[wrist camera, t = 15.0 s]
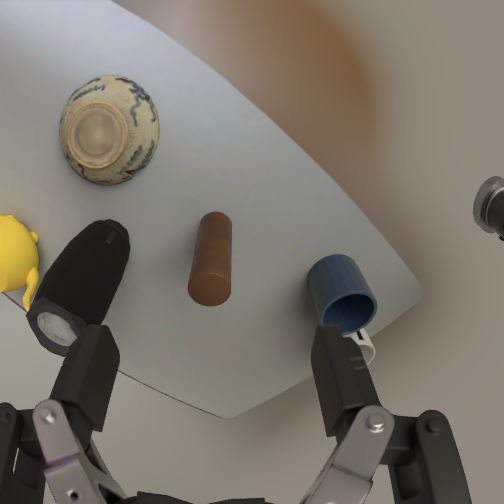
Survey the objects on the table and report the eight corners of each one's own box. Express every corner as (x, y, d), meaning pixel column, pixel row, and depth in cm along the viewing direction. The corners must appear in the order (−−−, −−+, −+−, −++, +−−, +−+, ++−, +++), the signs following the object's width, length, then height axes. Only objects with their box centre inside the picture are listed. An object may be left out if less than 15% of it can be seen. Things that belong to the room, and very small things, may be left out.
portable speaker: (106, 272, 45) (61, 367, 29) (73, 227, 40) (8, 313, 24) (146, 253, 44) (106, 356, 27) (112, 203, 39) (45, 291, 22)
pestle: (223, 206, 40) (218, 266, 29) (237, 232, 43) (238, 298, 31) (194, 219, 41) (179, 281, 29) (209, 244, 43) (200, 311, 32)
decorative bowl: (92, 57, 28) (45, 151, 34) (80, 56, 25) (31, 158, 30) (182, 112, 33) (124, 203, 39) (177, 115, 30) (116, 214, 36)
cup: (355, 295, 50) (374, 337, 42) (359, 324, 55) (375, 364, 46) (312, 310, 52) (324, 354, 43) (320, 337, 56) (331, 379, 47)
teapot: (-21, 242, 40) (-53, 276, 30) (-11, 183, 34) (-53, 213, 25) (50, 297, 48) (26, 340, 38) (71, 245, 42) (38, 290, 32)
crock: (352, 246, 45) (373, 282, 37) (361, 285, 49) (380, 322, 42) (300, 266, 46) (312, 305, 39) (315, 303, 51) (327, 342, 43)
